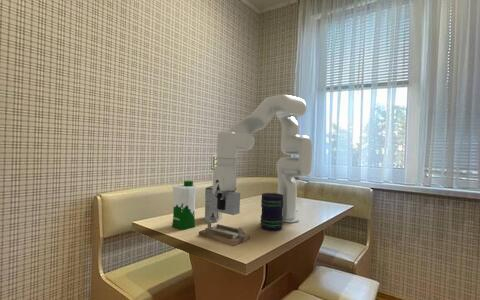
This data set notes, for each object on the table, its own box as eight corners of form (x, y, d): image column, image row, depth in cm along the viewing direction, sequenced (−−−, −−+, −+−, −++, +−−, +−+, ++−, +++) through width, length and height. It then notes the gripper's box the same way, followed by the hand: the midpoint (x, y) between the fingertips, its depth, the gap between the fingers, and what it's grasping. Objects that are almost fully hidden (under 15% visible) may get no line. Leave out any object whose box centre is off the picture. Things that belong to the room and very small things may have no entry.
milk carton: (197, 226, 117) (199, 181, 117) (181, 231, 110) (182, 183, 110) (185, 222, 123) (186, 179, 123) (168, 226, 116) (170, 181, 116)
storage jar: (258, 229, 115) (259, 195, 115) (262, 224, 124) (263, 192, 124) (281, 232, 112) (282, 197, 112) (283, 226, 122) (284, 193, 122)
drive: (215, 208, 110) (216, 189, 110) (239, 213, 103) (240, 192, 103) (209, 210, 106) (210, 190, 106) (233, 215, 99) (234, 193, 99)
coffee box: (210, 216, 135) (211, 185, 135) (222, 217, 134) (223, 186, 134) (204, 221, 126) (205, 187, 126) (217, 222, 125) (218, 188, 125)
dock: (214, 229, 114) (215, 217, 114) (249, 238, 104) (250, 225, 104) (198, 235, 106) (199, 222, 106) (234, 245, 95) (235, 231, 95)
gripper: (231, 161, 114) (229, 204, 113) (204, 162, 100) (202, 210, 100) (245, 162, 109) (244, 206, 109) (220, 163, 96) (218, 214, 95)
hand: (224, 208), depth 104 cm, fingers closed on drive, 4 cm apart
